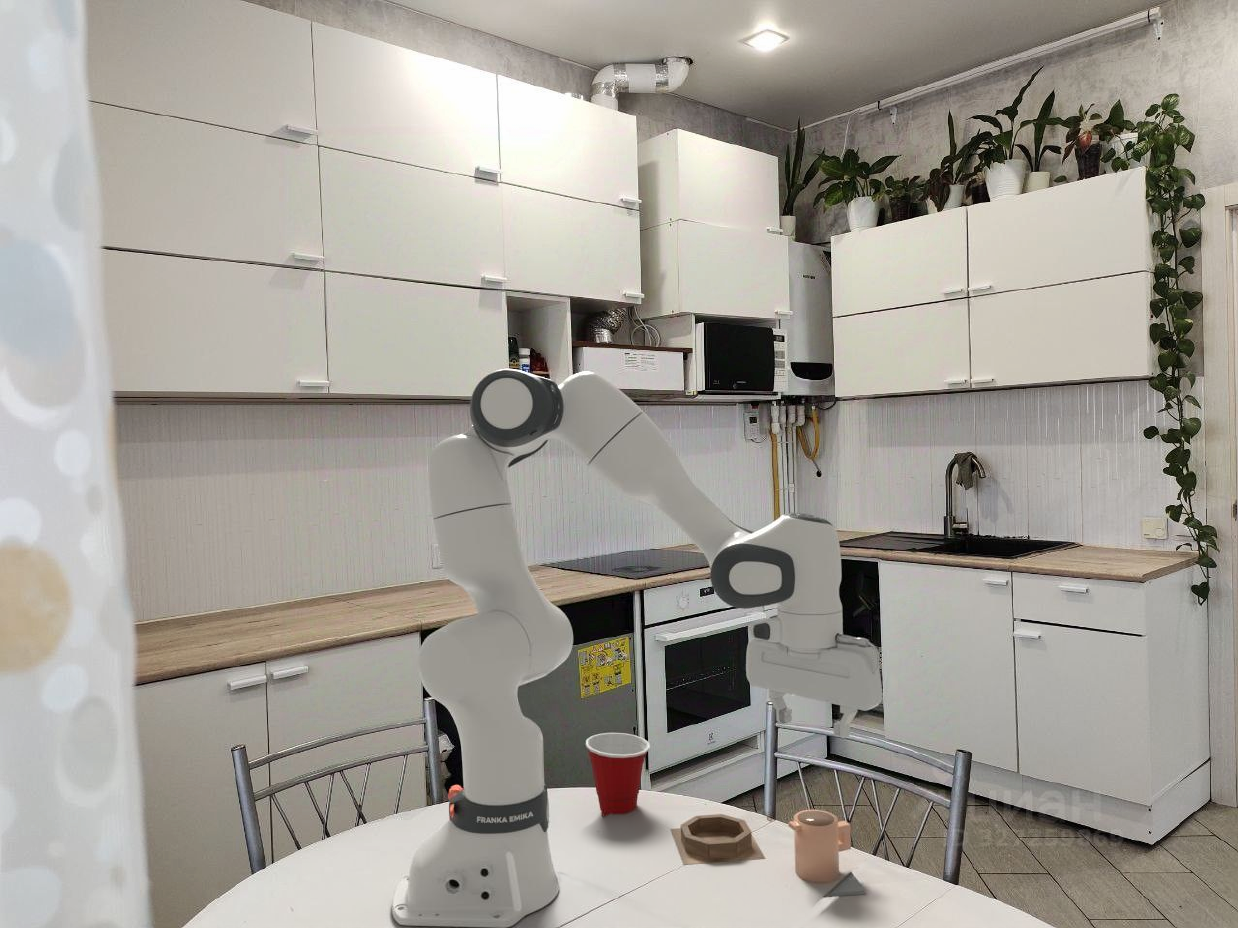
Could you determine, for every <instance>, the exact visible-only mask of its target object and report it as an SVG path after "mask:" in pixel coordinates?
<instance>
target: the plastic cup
mask: <svg viewBox="0 0 1238 928" xmlns="http://www.w3.org/2000/svg"><path fill="white" fill-rule="evenodd" d="M585 747H586V748H587V750H588V751H587V752H588V754H589V757H590V763H591V767H592V768H591V769H592V773H593V774H592V775H593V778H594V779H593V780H594V784H595V792H596V795H597V798H598V799H597V800H598V803H599V809H600V812H601V815H602V816H603V817H607V816H608V815H610V814H611V815H624V814H628V813H630V812H631V813H632V812H633V811H635V810H636V809H637V806H638V798H639V797H638V796H639V793H640V787H641V779H642V774H643V773H642V772H643V766H644V763H645V759H646V755H647V752H649V750H650V748H651V745H650V742H649V741H648V740H646V739H645V738H643V737H641V736H638V735H635V734H631V733H625V732H624V733H623V732H605V733H598V734H594V735H592V736H590V737H588V738H587V739H586V740H585Z"/></svg>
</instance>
